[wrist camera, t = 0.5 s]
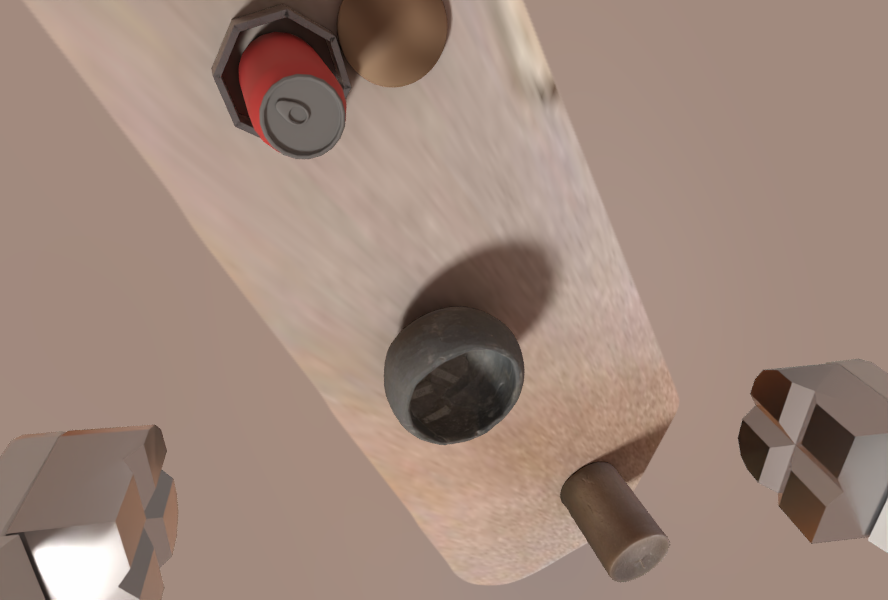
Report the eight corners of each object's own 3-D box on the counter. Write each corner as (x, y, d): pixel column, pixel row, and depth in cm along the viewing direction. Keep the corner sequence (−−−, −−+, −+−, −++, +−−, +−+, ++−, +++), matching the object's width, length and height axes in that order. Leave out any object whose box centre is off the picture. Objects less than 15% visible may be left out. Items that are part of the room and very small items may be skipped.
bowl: (504, 363, 76) (541, 419, 68) (389, 409, 74) (414, 472, 66) (486, 264, 67) (527, 315, 59) (355, 313, 65) (379, 373, 57)
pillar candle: (552, 509, 96) (604, 597, 85) (571, 464, 92) (630, 550, 80) (603, 501, 100) (660, 583, 89) (624, 457, 96) (688, 538, 84)
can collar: (246, -17, 46) (249, -13, 44) (360, 48, 51) (367, 54, 49) (197, 101, 49) (198, 110, 47) (309, 151, 54) (314, 161, 52)
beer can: (261, 12, 47) (280, 45, 38) (336, 59, 51) (371, 99, 42) (223, 89, 49) (232, 138, 40) (298, 129, 53) (323, 183, 43)
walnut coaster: (370, -59, 47) (372, -58, 47) (463, 5, 52) (466, 6, 51) (318, 52, 50) (319, 54, 50) (410, 103, 55) (413, 105, 54)
